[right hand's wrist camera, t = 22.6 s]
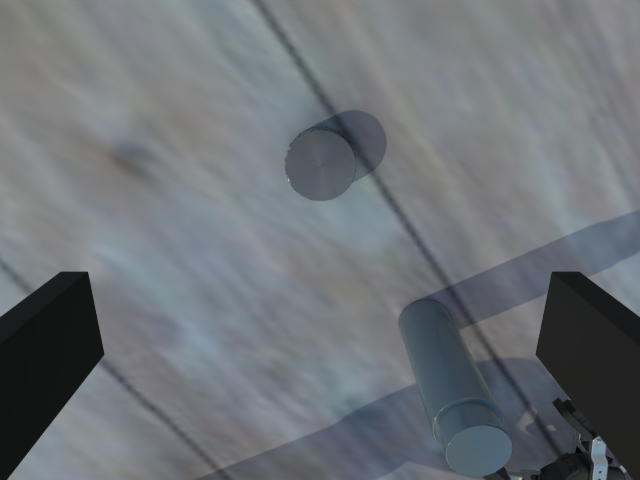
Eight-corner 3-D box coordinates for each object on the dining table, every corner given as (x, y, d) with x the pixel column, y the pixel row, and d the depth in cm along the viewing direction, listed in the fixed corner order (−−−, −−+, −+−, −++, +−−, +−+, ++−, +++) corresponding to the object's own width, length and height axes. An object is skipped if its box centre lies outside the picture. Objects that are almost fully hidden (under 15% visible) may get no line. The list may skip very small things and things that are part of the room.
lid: (337, 115, 36) (338, 117, 34) (364, 177, 38) (367, 184, 36) (275, 144, 37) (272, 149, 35) (304, 204, 39) (303, 212, 37)
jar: (438, 348, 44) (499, 487, 29) (391, 336, 44) (429, 472, 29) (457, 306, 42) (531, 431, 27) (408, 293, 42) (457, 413, 27)
